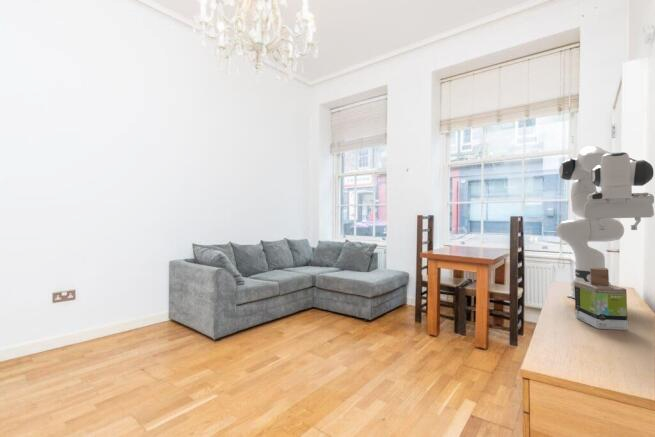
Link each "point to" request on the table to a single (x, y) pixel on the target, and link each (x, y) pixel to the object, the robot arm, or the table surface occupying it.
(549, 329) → the table surface
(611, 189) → the robot arm
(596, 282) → the walnut block
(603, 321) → the tea box
